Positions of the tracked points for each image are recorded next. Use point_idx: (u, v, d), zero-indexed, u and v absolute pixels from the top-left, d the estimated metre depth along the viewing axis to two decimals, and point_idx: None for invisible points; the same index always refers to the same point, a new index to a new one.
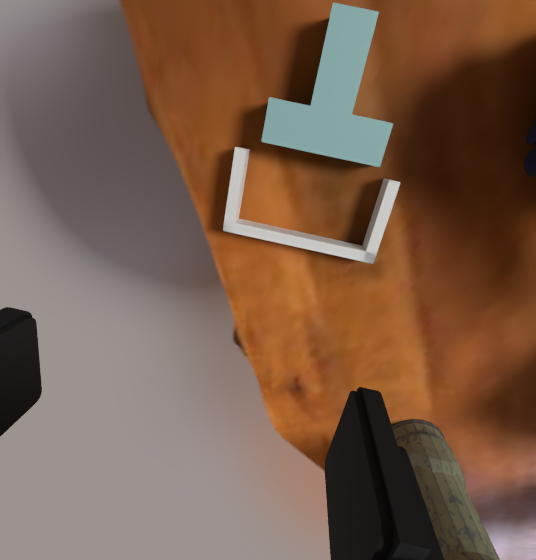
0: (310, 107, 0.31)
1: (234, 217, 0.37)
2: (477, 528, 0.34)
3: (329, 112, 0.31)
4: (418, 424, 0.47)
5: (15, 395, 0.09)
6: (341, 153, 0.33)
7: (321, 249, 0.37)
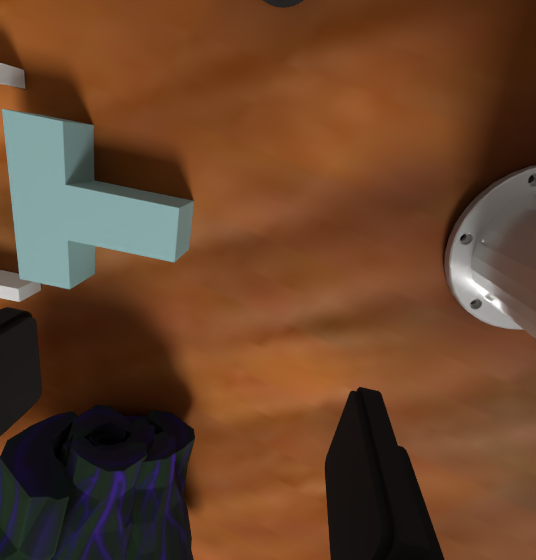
0: (63, 184, 0.23)
1: None
2: None
3: (63, 211, 0.23)
4: None
5: (15, 395, 0.09)
6: (20, 230, 0.24)
7: None
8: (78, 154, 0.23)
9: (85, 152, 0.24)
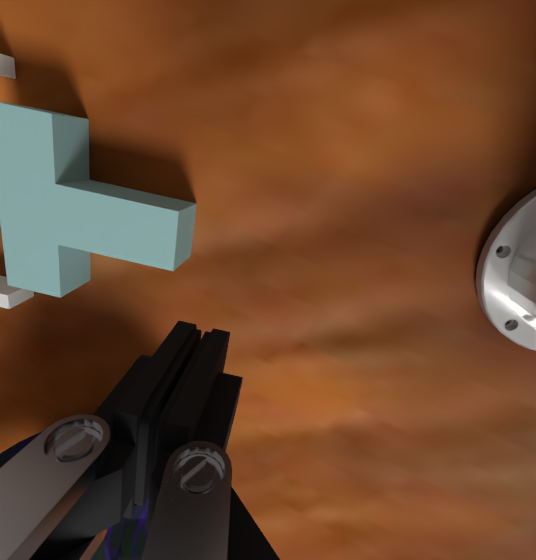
0: (52, 184, 0.21)
1: None
2: None
3: (53, 213, 0.21)
4: None
5: None
6: (8, 233, 0.22)
7: None
8: (70, 150, 0.21)
9: (78, 148, 0.22)
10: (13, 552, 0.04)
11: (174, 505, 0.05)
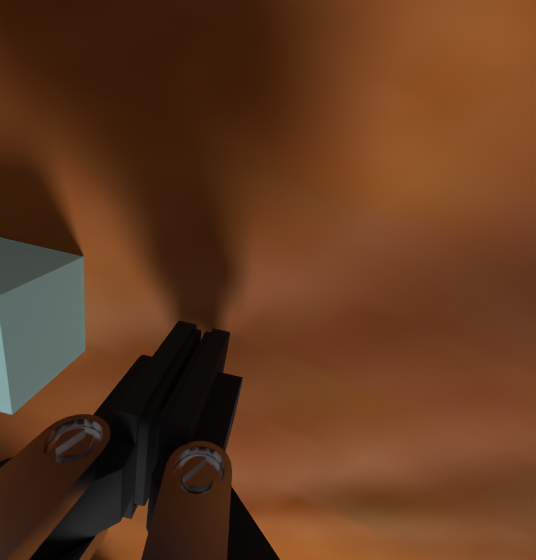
0: None
1: None
2: None
3: None
4: None
5: None
6: None
7: None
8: None
9: None
10: (13, 552, 0.04)
11: (174, 505, 0.05)
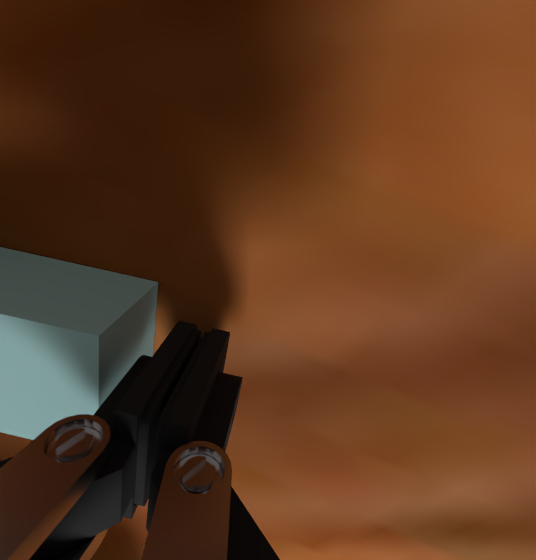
0: None
1: None
2: None
3: None
4: None
5: None
6: None
7: None
8: None
9: None
10: (13, 552, 0.04)
11: (174, 505, 0.05)
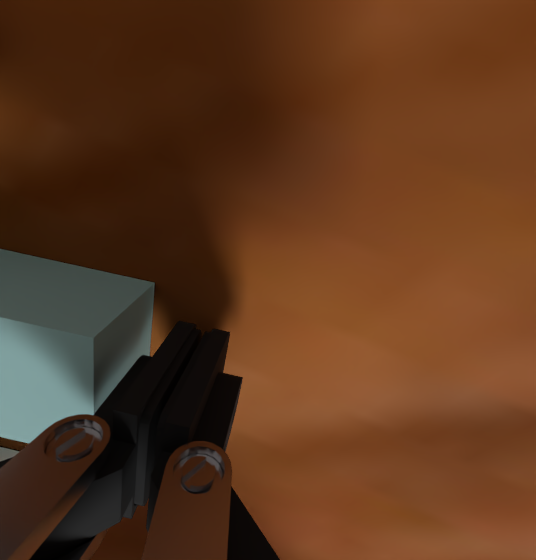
0: None
1: None
2: None
3: None
4: None
5: None
6: None
7: None
8: None
9: None
10: (13, 552, 0.04)
11: (174, 505, 0.05)
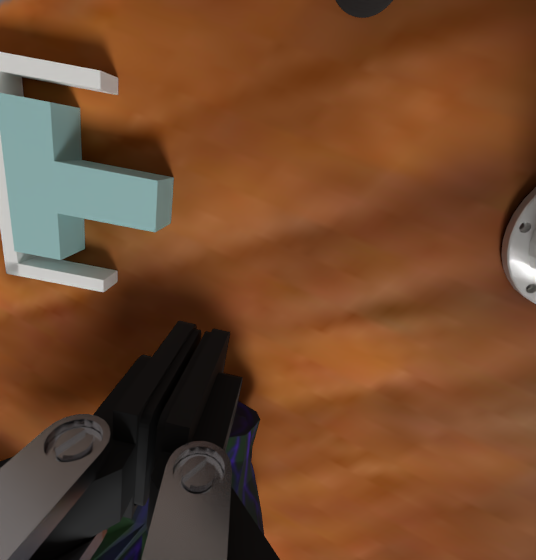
0: (52, 161, 0.25)
1: (2, 69, 0.24)
2: None
3: (52, 186, 0.26)
4: None
5: None
6: (14, 205, 0.26)
7: (1, 207, 0.28)
8: (65, 134, 0.26)
9: (72, 132, 0.26)
10: (13, 552, 0.04)
11: (174, 505, 0.05)
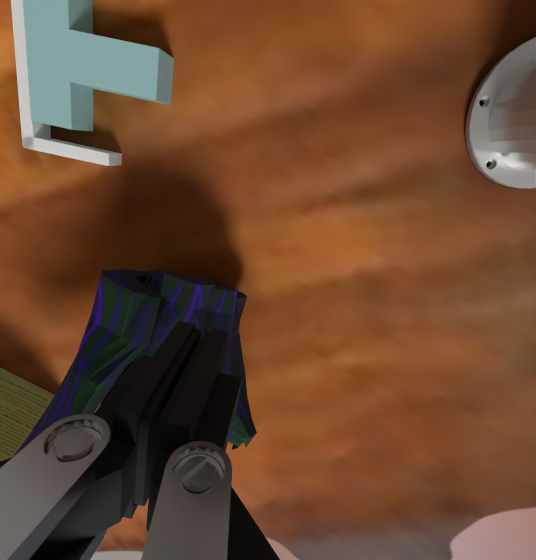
0: (67, 29, 0.28)
1: None
2: None
3: (67, 54, 0.29)
4: None
5: None
6: (32, 74, 0.30)
7: (20, 80, 0.31)
8: (79, 8, 0.29)
9: (85, 10, 0.30)
10: (13, 552, 0.04)
11: (174, 505, 0.05)
